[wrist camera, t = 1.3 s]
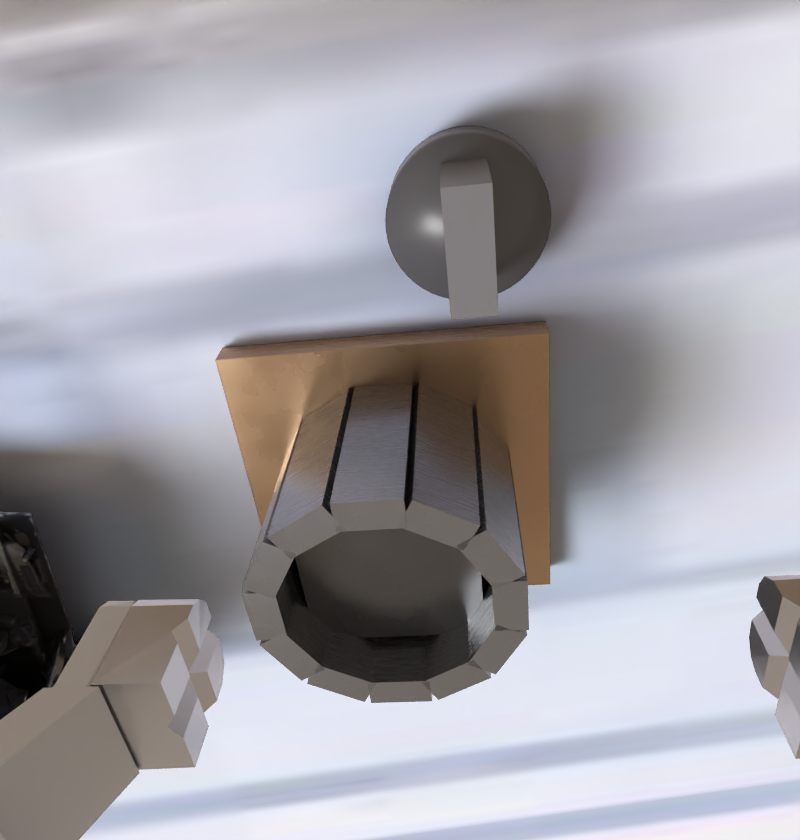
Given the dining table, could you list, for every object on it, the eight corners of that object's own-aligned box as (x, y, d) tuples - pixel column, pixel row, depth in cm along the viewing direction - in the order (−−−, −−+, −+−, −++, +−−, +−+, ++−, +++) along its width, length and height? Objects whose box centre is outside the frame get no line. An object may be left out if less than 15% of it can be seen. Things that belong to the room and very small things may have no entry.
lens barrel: (222, 347, 31) (149, 470, 23) (545, 321, 30) (581, 443, 22) (285, 579, 39) (245, 732, 31) (547, 567, 37) (574, 724, 29)
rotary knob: (379, 135, 26) (365, 168, 22) (543, 116, 26) (565, 147, 21) (398, 287, 29) (389, 345, 25) (545, 274, 29) (564, 331, 24)
